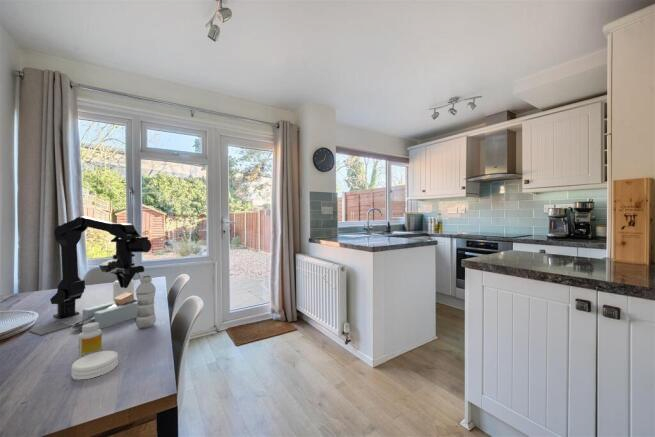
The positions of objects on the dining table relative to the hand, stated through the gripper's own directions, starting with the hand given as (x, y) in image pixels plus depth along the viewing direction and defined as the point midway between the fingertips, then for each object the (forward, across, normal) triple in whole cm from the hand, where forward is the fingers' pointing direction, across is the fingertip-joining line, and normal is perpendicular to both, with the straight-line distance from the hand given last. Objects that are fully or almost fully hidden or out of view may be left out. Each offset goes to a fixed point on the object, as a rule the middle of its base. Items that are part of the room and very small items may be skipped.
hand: (123, 287), depth 116 cm
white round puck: (+13, +37, -28) cm, 48 cm away
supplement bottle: (+13, +26, -24) cm, 38 cm away
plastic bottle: (+13, +20, -3) cm, 24 cm away
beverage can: (+13, -17, +10) cm, 23 cm away
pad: (+12, -11, -19) cm, 26 cm away
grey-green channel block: (+13, 0, -3) cm, 13 cm away
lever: (+9, 0, -7) cm, 11 cm away
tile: (+6, 0, 0) cm, 6 cm away
